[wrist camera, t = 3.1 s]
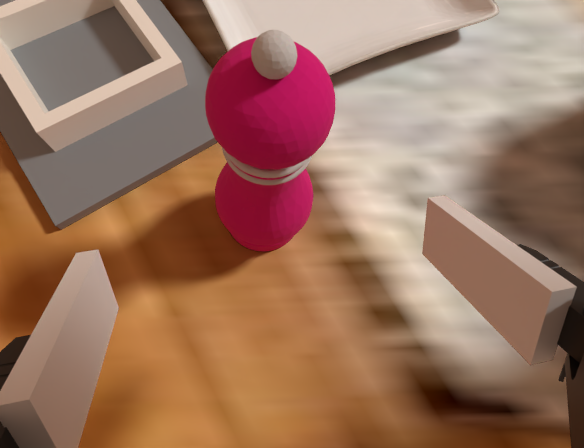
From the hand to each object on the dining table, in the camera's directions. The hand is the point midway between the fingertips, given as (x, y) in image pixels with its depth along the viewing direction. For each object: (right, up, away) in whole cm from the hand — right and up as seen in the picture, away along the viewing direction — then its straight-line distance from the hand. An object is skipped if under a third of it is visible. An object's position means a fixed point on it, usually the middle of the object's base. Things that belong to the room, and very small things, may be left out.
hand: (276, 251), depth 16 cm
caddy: (-18, +15, +20) cm, 31 cm away
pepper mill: (-2, +2, +18) cm, 18 cm away
